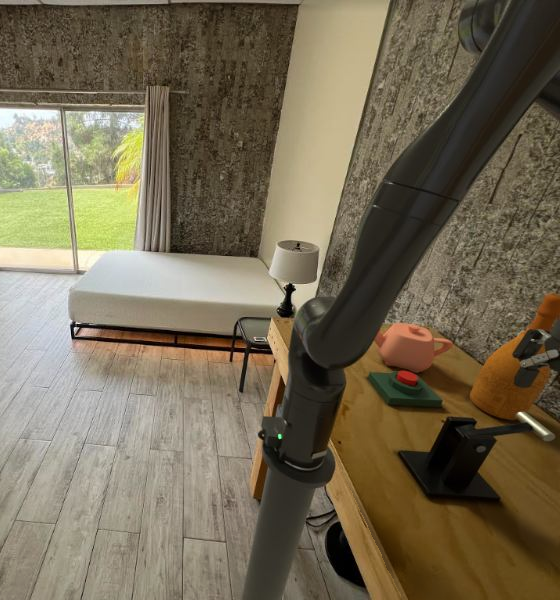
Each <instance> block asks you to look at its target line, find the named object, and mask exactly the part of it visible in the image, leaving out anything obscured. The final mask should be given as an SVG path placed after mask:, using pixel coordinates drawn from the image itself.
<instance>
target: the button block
mask: <svg viewBox="0 0 560 600" xmlns="http://www.w3.org/2000/svg"><path fill="white" fill-rule="evenodd" d="M399 371H400V370H393V371H392V372H379V371H378V372H375V371H369V372H368V375H367V380H368V381H369V382H370V383H371V385H372V386H373V388H374V389H375V390H376V391H377V392H378V394H379V395H380V396H381V398H382V399H383V400H384V402H385V403H386V404H387V405H389V406H390V405H391V406H406V407H408V406H409V407H427V408H429V407H430V408H440V407H441V406H442V404H443V401H444V400H443V399H442V398H441V397H440V396H439V395H438V394H437V392H435V391H434V390H433V389H432V388H431V387H430V386H429V385H428V384H427V383H426V382H425V381H424V380H423V379H422V378H421V377H420V376H419V375H418V373H414V374H415V375H416V376H417V377H418V380H417V382H416V385H415V386H409V385H406V384H403V383H401V382H399V381H398V380H397V379H396V377H397V375H398V372H399Z"/></svg>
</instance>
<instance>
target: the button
mask: <svg viewBox="0 0 560 600" xmlns="http://www.w3.org/2000/svg"><path fill="white" fill-rule="evenodd" d="M398 371H399V372H398V375H397V377H396V379H397V380H398V381H399V382H401V383H403V384H406V385H409V386H415V385H416V382H417V380H418V377H417V376H416V375H415V374H416V373H414V372H412V371H407V370H398Z"/></svg>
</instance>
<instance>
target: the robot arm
mask: <svg viewBox="0 0 560 600" xmlns="http://www.w3.org/2000/svg"><path fill="white" fill-rule="evenodd" d="M456 25H457V27H456V29H457V31H456V33H457V39H458V43H459V45H460V47H461V49H462V50H463V51H464V53H465V54H467V56H469V57H470V58H471V59H472V60H474V61H475V63H474V65H473V67H472V69H471V70H470V72H469V74H468V75H467V77H466V78H465V79H464V81H463V83H462V85H461V86H460V87H459V88H458V90H457V91H456V92H455V94H454V95H453V96H452V97H451V99H450V100H449V101H448V103H447V104H446V105H445V106H444V107H443V108H442V109H441V111H440V112H439V113H437V114H436V116H434V118H433V119H432V120H431V121H430V122H429V123H428V124H427V125H426V126H425V127H424V128H423V129H422V130H421V131H420V132H419V133H418V135H416V136H415V138H413V140H412V141H411V142H410V143H408V145H407V146H406V147H405V148H404V149H403V150H402V151H401V153H399V155H398V156H397V157H396V158H395V160H394V161H393V162H392V163H391V164H390V166H389V168H388V169H387V171H386V172H385V173H384V175H383V177H382V178H381V181H380V182H379V184H378V186H377V187H376V189H375V190H374V192H373V195H371V198H370V200H369V201H368V203H367V205H366V207H365V208H364V211H363V213H362V215H361V217H360V220H359V224H358V228H357V232H356V235H355V236H356V238H355V241H354V246H353V252H352V258H351V261H350V267H349V269H348V274H347V276H346V278H345V281H344V283H343V284H342V287H341V289H340V290H339V292H338V294H337V295H336V297H335V296H331V295H318V296H314V297H312V298H310V299H309V300H307V301H305V302H304V303H303V304H302V305H301V306H300V307H299V309H298V310H297V312H296V314H295V316H294V320H293V323H292V327H291V333H290V340H289V347H288V351H287V352H288V353H287V368H288V371H287V378H286V383H285V388H284V392H283V397H282V401H281V404H277V407H276V411H275V415H274V416H268V415H263V416H262V419H261V423H260V424H261V425H260V427H261V429H260V430H259V431H258V432H257V437H258V438H259V439H260V440H261V441H265V443H266V446H267V447H273V448H274V451H275V454H276V457H277V461H278V463H280V464H285V465H287V466H288V467H290V468H292V469H294V470H296V471H300V472H314V471H317V470H318V469H320V468H321V466H322V464H323V461H324V456H325V455H326V453H327V446H328V447H329V443H330V439H331V437H332V433H333V431H334V427H335V423H336V420H337V417H338V414H339V410H340V408H341V405H342V401H343V397H344V394H345V391H346V388H347V387H346V386H347V376H346V372H345V369H346V368H349V367H351V366H353V365H355V364H357V362H359V361H360V360H361V359H362V358H363V357H364V356H365V355H366V353H368V351H369V350H370V348H371V346H372V345H373V344H374V342H375V341H374V339H375V338H376V336H377V334H378V332H379V330H380V331H381V328H382V326H383V324H384V323H385V320H386V319H387V317H388V316H389V313H390V311H391V310H392V308H393V305H394V304H395V302H396V301H397V299H398V297H399V296H400V294H401V293H402V291H403V289H404V288H405V286H406V285H407V283H408V282H409V281H410V279H411V278H412V276H413V275H414V273H415V272H416V271H417V269H418V268H419V265H420V264H421V262H422V261H423V259H424V258H425V256H426V255H427V254H428V252H429V251H430V249H431V248H432V246H433V245H434V244H435V242H436V241H437V240H438V238H440V236H441V234H442V233H443V232H444V231H445V229H446V228H447V226H448V225H449V223H451V220H452V219H453V218H454V216H455V215H456V213H457V212H458V211H459V209H460V208H461V206H462V204H463V203H464V202H465V200H466V199H467V197H468V196H469V195H470V192H471V191H472V189H473V188H474V186H475V185H476V183H477V181H478V180H479V178H480V177H481V176H482V174H483V173H484V172H485V170H486V169H487V167H488V166H489V164H490V163H491V162H492V160H493V159H494V158H495V157H496V155H497V153H499V151H500V149H501V148H502V147H503V146H504V144H505V142H506V141H507V140H508V138H509V137H510V135H511V134H512V133H513V131H514V130H515V129H516V127H517V126H518V125H519V123H520V122H521V120H522V119H523V118H524V116H525V115H526V113H527V112H528V111H529V110H530V108H531V107H532V105H534V103H535V104H536V105H537V106H538V107H540V108H541V109H542V110H544V112H546V113H547V114H548V115H549V116H550V117H552V118H553V119H554V120H555V121H556V122H558V124H560V0H466V1H465V2H464V3H463V6H462V8H461V11H460V13H459V16H458V20H457V24H456ZM543 344H544V345H545V351H546V352H545V353H542V354H539V355H536V354H537V352H538V351H539V350H540V348H541V347H542V346H543ZM512 356H513V357H514V358H518V360H519V361H520V365H521V367H520V369H519V370H518V372H517V374H516V375H515V377H514V385H516V386H517V387H522V388H528V387H530V386H531V385H532V383H533V382H534V380H535V379H536V377H537V376H538V374H539V373H540V370H538V368H543V367H547V366H550V367H549V368H550V370H552V371H554V372H558V373H560V317H558V318H557V319H556V321H555V322H554V324H553V325H552V328H551V331H549V330H542V329H529V330H528V331H527V332H526V334H525V335H524V337H523V338H522V340H521V341H520V343H519V344H518V346H517V347H516V349H515V350H514V352H513V353H512Z"/></svg>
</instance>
